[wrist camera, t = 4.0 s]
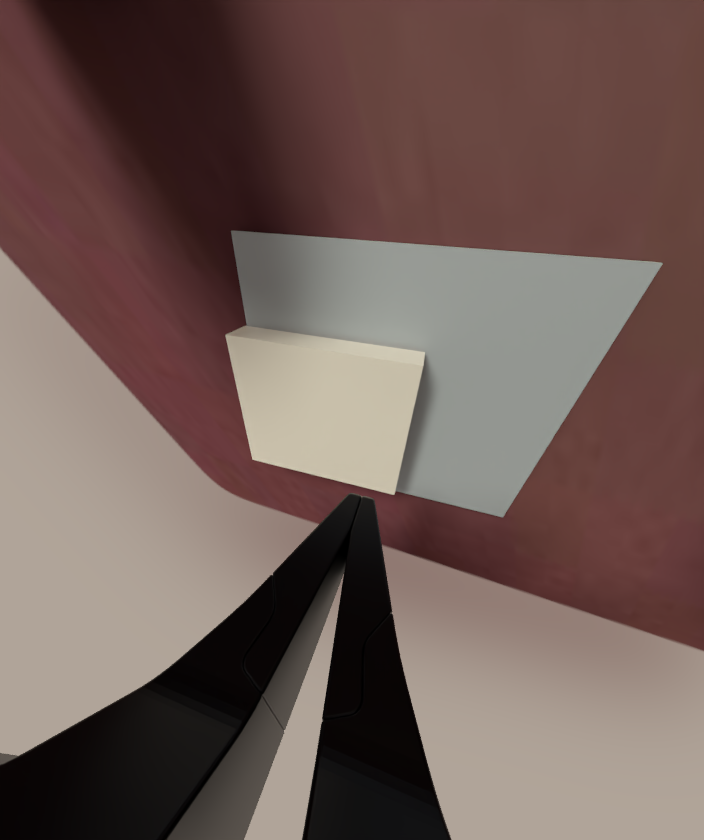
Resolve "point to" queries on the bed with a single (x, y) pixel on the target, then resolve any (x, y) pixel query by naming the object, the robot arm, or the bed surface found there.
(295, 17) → the bed surface
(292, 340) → the tile
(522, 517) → the bed surface
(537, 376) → the mat
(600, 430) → the bed surface
